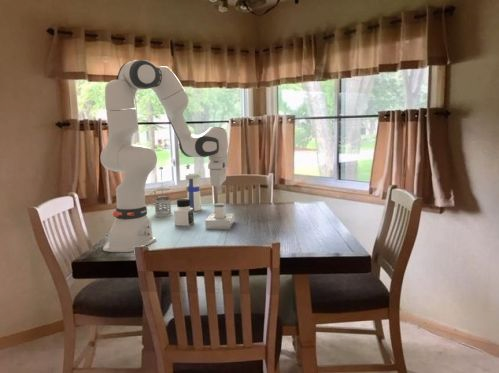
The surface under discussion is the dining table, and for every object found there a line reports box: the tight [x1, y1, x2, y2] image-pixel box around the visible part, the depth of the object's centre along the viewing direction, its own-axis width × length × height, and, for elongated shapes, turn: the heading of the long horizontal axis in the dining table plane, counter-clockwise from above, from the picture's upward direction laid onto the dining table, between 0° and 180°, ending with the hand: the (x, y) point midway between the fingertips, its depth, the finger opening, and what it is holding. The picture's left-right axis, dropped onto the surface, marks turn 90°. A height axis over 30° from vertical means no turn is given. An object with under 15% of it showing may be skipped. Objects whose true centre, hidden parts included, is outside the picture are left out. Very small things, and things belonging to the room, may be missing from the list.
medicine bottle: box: [173, 197, 195, 227], centre depth 194 cm, size 7×7×12 cm
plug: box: [214, 202, 226, 218], centre depth 190 cm, size 4×4×9 cm
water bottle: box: [185, 163, 202, 212], centre depth 224 cm, size 8×9×25 cm
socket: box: [204, 212, 235, 230], centre depth 191 cm, size 14×11×5 cm
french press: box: [148, 166, 174, 218], centre depth 213 cm, size 10×12×25 cm
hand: (219, 193), depth 189 cm, fingers closed
